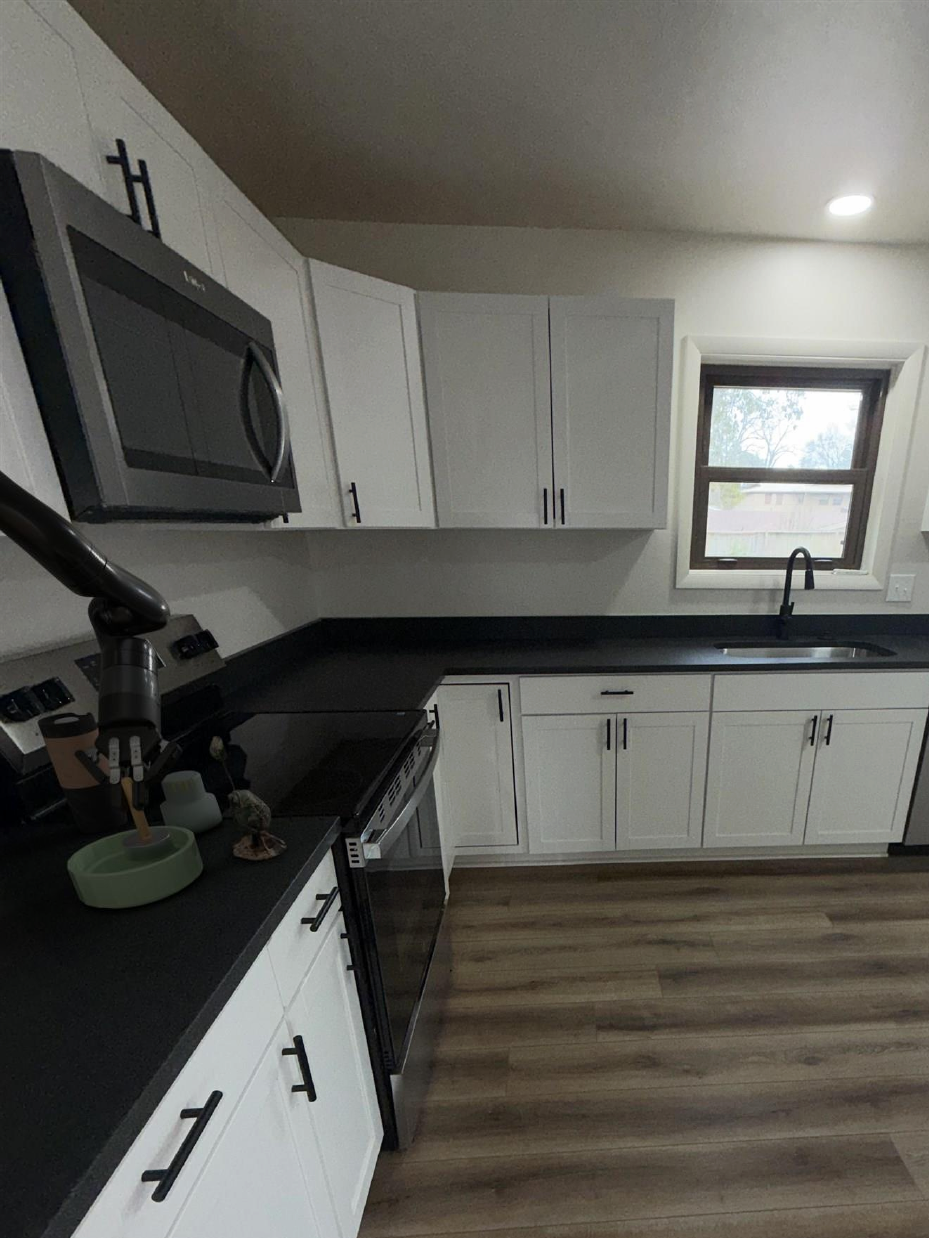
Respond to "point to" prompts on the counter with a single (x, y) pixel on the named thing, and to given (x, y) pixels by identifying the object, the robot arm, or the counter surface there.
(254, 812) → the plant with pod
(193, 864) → the bowl
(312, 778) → the counter surface
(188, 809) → the air freshener
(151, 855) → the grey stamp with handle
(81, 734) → the travel mug
